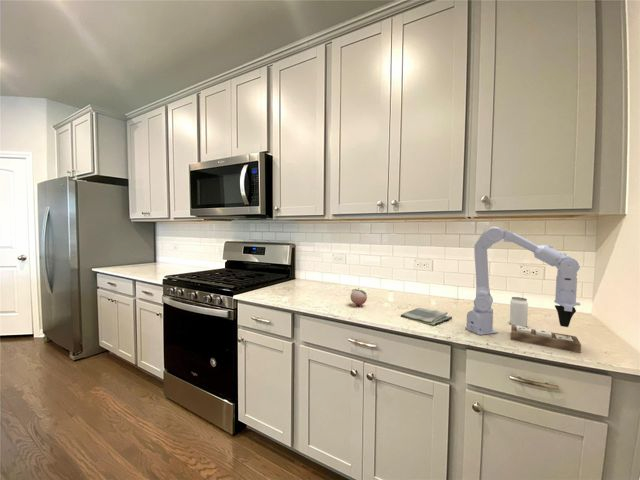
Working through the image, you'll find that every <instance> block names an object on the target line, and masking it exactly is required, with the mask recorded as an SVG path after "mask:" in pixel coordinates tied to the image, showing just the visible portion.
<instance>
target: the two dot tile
mask: <svg viewBox="0 0 640 480" xmlns="http://www.w3.org/2000/svg"><path fill="white" fill-rule="evenodd" d="M555 338H556V339H562V340H568V341H573V339H572V337H569V336H563V335H557V334H555Z"/></svg>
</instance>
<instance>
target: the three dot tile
mask: <svg viewBox="0 0 640 480" xmlns="http://www.w3.org/2000/svg"><path fill="white" fill-rule="evenodd" d="M531 329H532V328H531V327H528V326H526V327H523V326H517V328H516V332H522V333H528V334H531Z"/></svg>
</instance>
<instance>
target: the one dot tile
mask: <svg viewBox="0 0 640 480" xmlns="http://www.w3.org/2000/svg"><path fill="white" fill-rule="evenodd" d="M551 332H552V331H550V330H546V329H539V328H535V335H539V336H545V337H551V338H552V334H551Z"/></svg>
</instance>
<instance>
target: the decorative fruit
mask: <svg viewBox="0 0 640 480" xmlns="http://www.w3.org/2000/svg"><path fill="white" fill-rule="evenodd" d="M350 300H351V302H352V303H353V304H355V305H356V306H358V307H359V306H362V305H364V304H365V303H366V302H367V300H368V294H367V292H366V291H365V290H363V289H360V288H359V287H358V288H355V289H354V288H353V289H351V293H350Z"/></svg>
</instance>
